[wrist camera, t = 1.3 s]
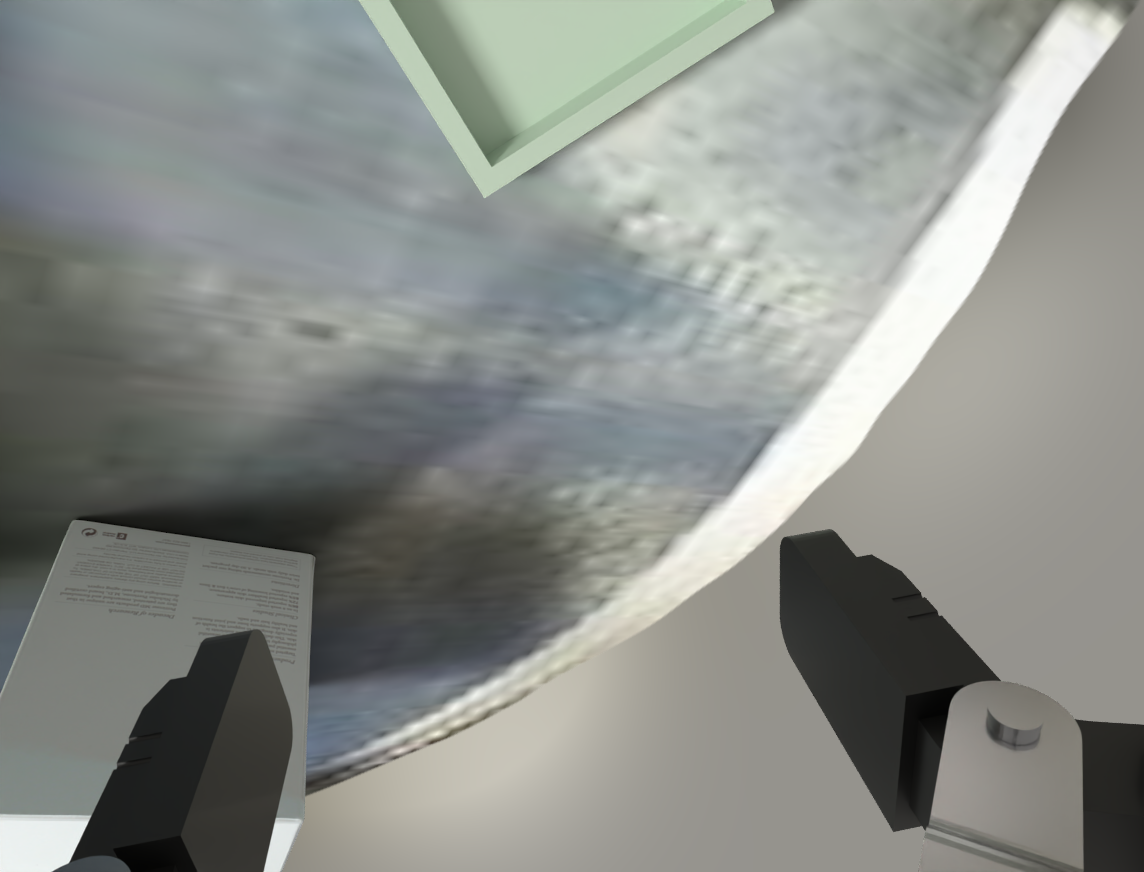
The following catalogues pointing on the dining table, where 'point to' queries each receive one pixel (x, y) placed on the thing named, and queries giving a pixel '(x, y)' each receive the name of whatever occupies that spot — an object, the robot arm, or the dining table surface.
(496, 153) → the tray
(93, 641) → the supplement box
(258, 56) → the dining table surface
